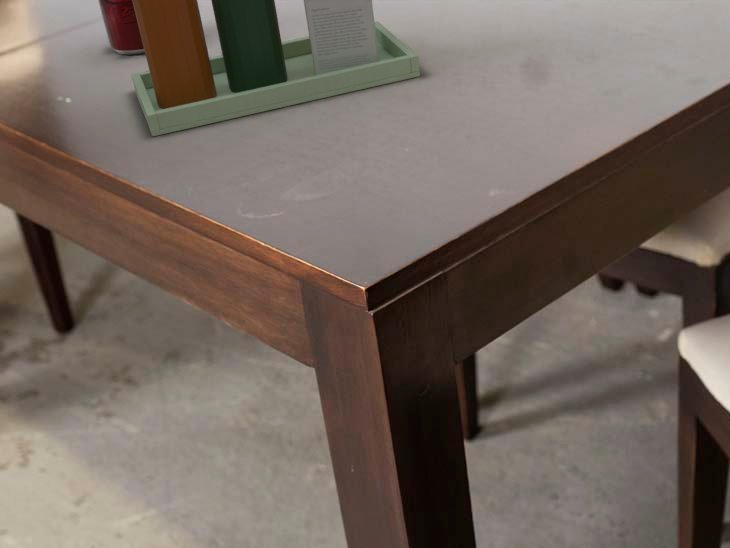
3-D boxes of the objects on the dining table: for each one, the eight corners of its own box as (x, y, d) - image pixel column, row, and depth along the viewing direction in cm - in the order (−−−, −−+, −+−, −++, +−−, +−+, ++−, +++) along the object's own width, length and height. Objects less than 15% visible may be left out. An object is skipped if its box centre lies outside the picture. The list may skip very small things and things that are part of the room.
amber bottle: (163, 120, 103) (122, -48, 94) (155, 101, 107) (116, -60, 98) (222, 107, 104) (187, -60, 95) (211, 89, 108) (177, -72, 100)
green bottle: (236, 104, 104) (203, -63, 95) (225, 86, 108) (193, -75, 100) (294, 91, 105) (266, -75, 96) (280, 73, 109) (253, -87, 101)
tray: (152, 136, 99) (147, 115, 98) (135, 93, 110) (131, 74, 108) (420, 76, 104) (418, 55, 103) (380, 40, 114) (378, 21, 113)
